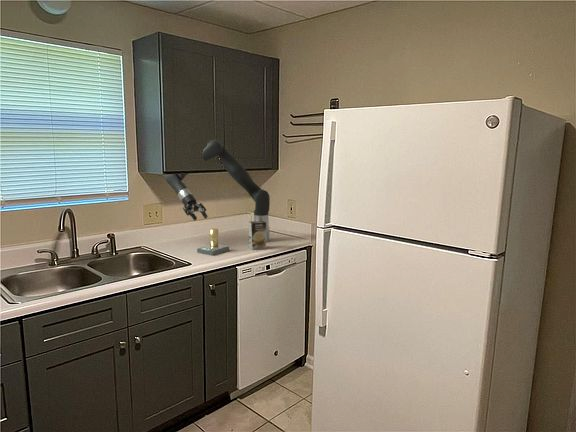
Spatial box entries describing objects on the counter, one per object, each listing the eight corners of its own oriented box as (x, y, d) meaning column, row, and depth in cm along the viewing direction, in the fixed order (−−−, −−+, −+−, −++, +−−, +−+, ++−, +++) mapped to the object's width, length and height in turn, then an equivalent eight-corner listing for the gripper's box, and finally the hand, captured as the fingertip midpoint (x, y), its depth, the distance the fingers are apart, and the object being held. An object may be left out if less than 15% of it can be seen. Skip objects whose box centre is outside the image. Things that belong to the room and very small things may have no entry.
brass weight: (214, 244, 257) (213, 228, 256) (220, 246, 255) (219, 229, 253) (208, 246, 253) (207, 229, 252) (214, 247, 251) (214, 230, 249)
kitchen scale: (214, 248, 263) (214, 243, 262) (229, 250, 256) (229, 245, 255) (197, 252, 251) (197, 247, 251) (212, 255, 244) (212, 250, 244)
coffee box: (251, 250, 257) (251, 223, 255) (248, 247, 263) (248, 221, 261) (266, 248, 261) (266, 222, 258) (263, 246, 267) (263, 220, 264)
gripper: (180, 194, 253) (195, 216, 249) (198, 192, 265) (213, 213, 261) (174, 203, 257) (189, 224, 253) (192, 200, 269) (206, 221, 264)
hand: (201, 218), depth 257 cm, fingers open, 8 cm apart
